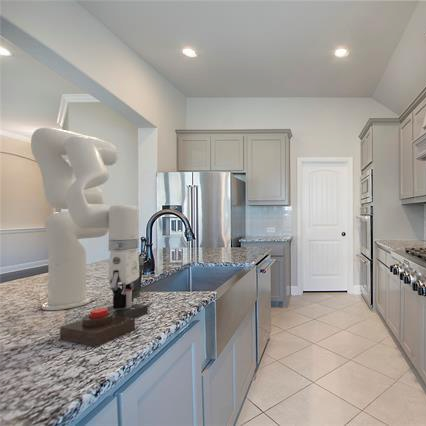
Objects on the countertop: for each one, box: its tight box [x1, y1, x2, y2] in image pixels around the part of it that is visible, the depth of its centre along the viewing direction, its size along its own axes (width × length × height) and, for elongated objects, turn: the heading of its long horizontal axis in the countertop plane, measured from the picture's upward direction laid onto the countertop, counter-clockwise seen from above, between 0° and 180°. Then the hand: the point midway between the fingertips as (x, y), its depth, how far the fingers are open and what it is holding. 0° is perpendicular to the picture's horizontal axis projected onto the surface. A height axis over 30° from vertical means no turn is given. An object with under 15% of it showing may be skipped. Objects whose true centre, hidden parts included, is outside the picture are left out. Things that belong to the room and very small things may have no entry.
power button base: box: [59, 311, 136, 348], centre depth 72 cm, size 12×10×5 cm
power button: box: [89, 307, 108, 318], centre depth 72 cm, size 4×4×2 cm
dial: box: [117, 289, 133, 310], centre depth 86 cm, size 4×4×5 cm
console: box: [106, 302, 149, 319], centre depth 86 cm, size 10×8×3 cm
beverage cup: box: [132, 255, 145, 299], centre depth 106 cm, size 7×7×20 cm
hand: (123, 304), depth 86 cm, fingers closed on dial, 4 cm apart
